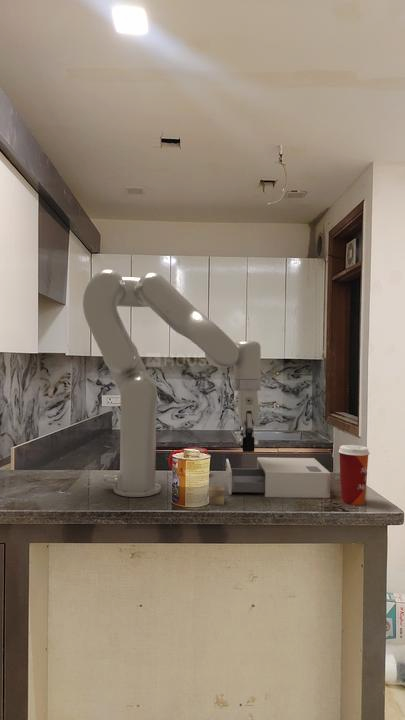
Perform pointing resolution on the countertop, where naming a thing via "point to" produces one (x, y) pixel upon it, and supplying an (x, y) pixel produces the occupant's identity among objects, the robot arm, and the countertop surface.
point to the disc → (240, 440)
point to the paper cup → (353, 473)
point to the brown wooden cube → (216, 495)
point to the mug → (183, 450)
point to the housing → (295, 477)
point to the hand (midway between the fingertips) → (247, 448)
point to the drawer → (244, 479)
